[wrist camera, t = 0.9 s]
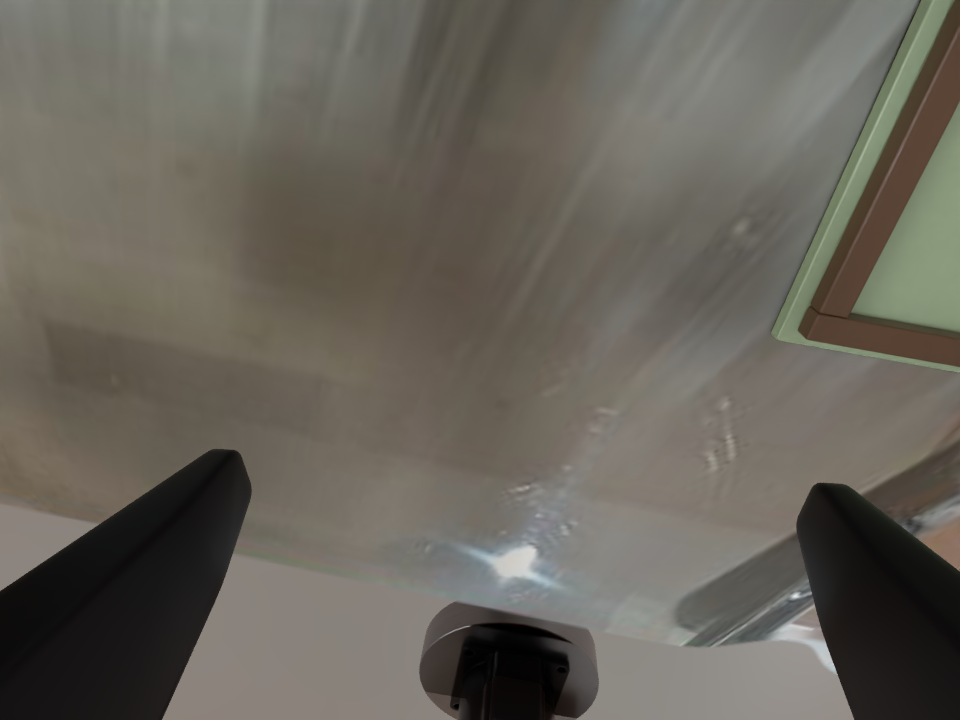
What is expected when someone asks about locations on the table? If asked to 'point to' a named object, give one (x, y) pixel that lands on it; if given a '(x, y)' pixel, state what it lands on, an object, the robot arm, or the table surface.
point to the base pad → (894, 217)
